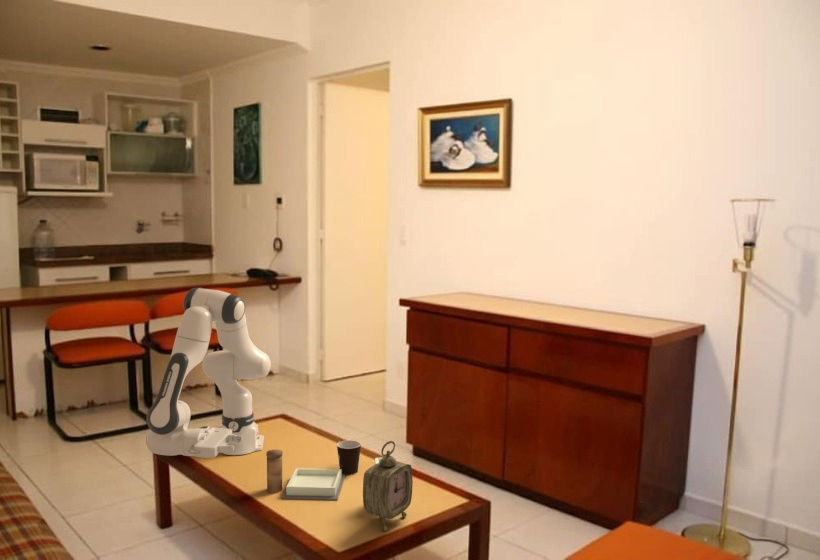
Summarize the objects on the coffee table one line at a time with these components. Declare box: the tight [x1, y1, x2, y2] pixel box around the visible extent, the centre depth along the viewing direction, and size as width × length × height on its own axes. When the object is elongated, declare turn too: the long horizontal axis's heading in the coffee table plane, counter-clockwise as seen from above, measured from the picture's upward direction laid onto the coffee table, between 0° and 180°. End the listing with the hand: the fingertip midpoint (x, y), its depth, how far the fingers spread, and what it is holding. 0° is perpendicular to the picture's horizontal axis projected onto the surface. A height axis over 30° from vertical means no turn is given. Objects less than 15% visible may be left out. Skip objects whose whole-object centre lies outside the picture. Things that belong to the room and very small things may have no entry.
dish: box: [285, 467, 343, 496], centre depth 228 cm, size 16×16×3 cm
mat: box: [281, 474, 346, 501], centre depth 228 cm, size 20×18×1 cm
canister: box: [266, 449, 283, 494], centre depth 225 cm, size 5×5×13 cm
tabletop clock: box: [362, 440, 414, 532], centre depth 202 cm, size 14×9×25 cm, turn 148°
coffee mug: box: [336, 439, 362, 476], centre depth 243 cm, size 12×9×10 cm
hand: (237, 443), depth 224 cm, fingers open, 8 cm apart
